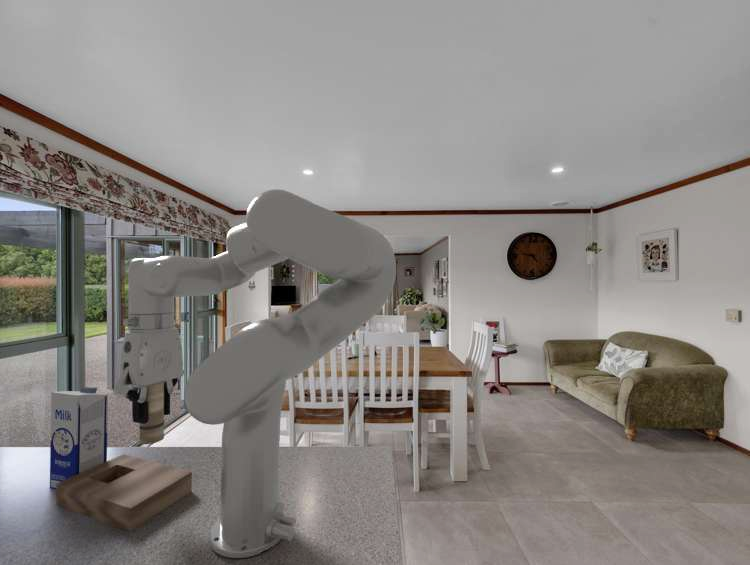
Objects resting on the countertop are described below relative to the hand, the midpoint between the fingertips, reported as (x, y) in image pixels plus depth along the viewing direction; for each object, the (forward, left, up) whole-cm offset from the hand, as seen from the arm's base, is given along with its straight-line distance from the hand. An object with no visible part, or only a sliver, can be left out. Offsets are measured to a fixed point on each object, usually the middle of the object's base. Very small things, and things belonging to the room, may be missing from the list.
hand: (151, 417), depth 70 cm
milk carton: (+21, 0, -17) cm, 27 cm away
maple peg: (0, 0, -4) cm, 4 cm away
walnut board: (+7, 0, -17) cm, 18 cm away
